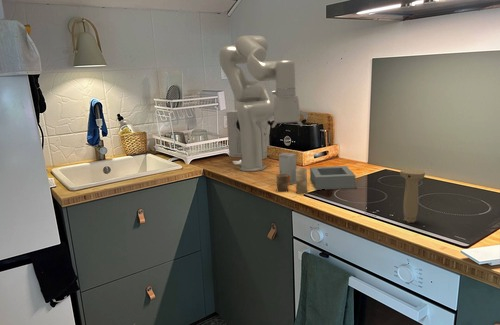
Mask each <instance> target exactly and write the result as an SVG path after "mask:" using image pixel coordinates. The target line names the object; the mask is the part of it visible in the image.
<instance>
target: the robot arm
mask: <svg viewBox="0 0 500 325" xmlns="http://www.w3.org/2000/svg"><path fill="white" fill-rule="evenodd" d="M268 44H269V43H268V41H267V39H266V38H265V37H264V36H263V35H258V34H257V35H249V34H248V35H242V36H239V37H238V38H237V39H236V41H235V44H234V45H233V44H231V45H226V46H223V47H222V48H220V50H219V53H218V54H219V56H218V59H219V64H220V67H221V70H222V72H223V73H224V74H225V76H226V79H227V80H228V82H229V86H230V89H231V90H232V91H231V92H232V94H233V97H234V99H235V100H236V101H237V102H238V103H240V104H239V105H238V106H237V109H236V110H237V115H238V119H239V124H240V133H241V150H242V158H241V159H239V160H233V161H232V166H233V165H234V166H239V167H238V168H239V171H243V172H259V171H262V170H265V169H266V165H265V164H264V163H263V159H262V148H261V131H260V129H259V127H258V126H257V124H256V122H259V121H267V123H268V124H269V127H271V128H272V130H271V131H272V133H271V134H272V136H274V138H275V139H276V138H277V127H276V126H277V124H286V123H287V124H288V123H296V124H298V125H297V136H298V137H301V136H302V134H303V125H304V124H305V123H306V122H307V121H308V118H309V116H310V115H309V114H308V113H307V112H304V111H302V110H300V109H301V108H300V102H299V101H300V100H299V97H298V95H296V70H295V69H296V67H295V66H296V65H295V62H294V60H291V59H284V60H269V61H268V60H266V59H267V58H266V57H267V51H268V47H269V46H268ZM237 64H239V65H240V64H246V68H247V71H248V73H249V75H250V76H252V77H253V78H254V79H255V80H253V81H251V80H248V79H247V74H246V73H245V72H244V70H243V69H242V68H241V67H239V66H238V65H237ZM266 81H268V82H269V81H275V90H272V91H271V92H272V93H271V94H272V95H275V97H274V100H273V102H272V99H271V97H270V94H269V91H268V89H267V87H266V86H265V84H264V83H263V82H266ZM301 116H303V118H302V120H301ZM272 118H273V122H271V120H272Z"/></svg>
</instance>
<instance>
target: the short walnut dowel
mask: <svg viewBox="0 0 500 325" xmlns="http://www.w3.org/2000/svg"><path fill="white" fill-rule="evenodd" d="M276 191H277V193H287V192H289V184H288V176H287V174H279V173H277V174H276ZM286 191H287V192H286Z"/></svg>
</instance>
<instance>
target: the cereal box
mask: <svg viewBox="0 0 500 325" xmlns="http://www.w3.org/2000/svg"><path fill="white" fill-rule="evenodd" d="M256 124H257V126H258V127H259V129H260V131H261V148H262V160H264V159H267V158H268V157H267V146H269V147H270V125H269V124H268V123H267V121H259V122H256ZM226 126H227V127H226V128H227V141H228V142H227V143H228V153H229V154H228V156H229V157H230V158H241V159H242V150H241V133H240V124H239V119H238V115H237V109H232V110H227V111H226Z"/></svg>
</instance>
